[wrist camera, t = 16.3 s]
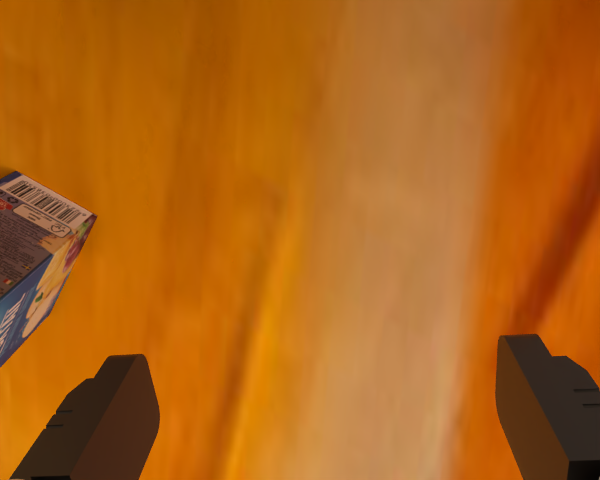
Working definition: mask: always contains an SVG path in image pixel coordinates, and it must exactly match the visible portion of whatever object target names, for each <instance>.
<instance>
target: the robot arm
mask: <svg viewBox="0 0 600 480" xmlns="http://www.w3.org/2000/svg"><path fill="white" fill-rule="evenodd" d="M495 396H496V406H497V412H498V416H499V420H500V423H501V425H502V428H503V430H504V433H505V435H506V438H507V440H508V443H509V445H510V447H511V450H512V452H513V455H514V457H515V460H516V462H517V465H518V467H519V470H520V472H521V475H522V477H523V479H524V480H600V391H599V387H598V386H597V384H596V383H595V382H594V380H593V379H592V377H591V376H590V374H589V373H588V372H587V370H585V369H584V368H582V367H581V366H580V365H578V364H577V363H575V362H574V361H572V360H571V359H570V358H568V357H567V356H551V354H550V353H549V351H548V350H547V348H546V346H545V345H544V343H543V342H542V340H541V338H540V337H539V336H538V335H537V334H522V335H503V336H500V337H499V340H498V351H497V371H496V391H495ZM159 421H160V412H159V405H158V401H157V397H156V393H155V390H154V386H153V382H152V378H151V374H150V370H149V366H148V363H147V360H146V358H145V356H144V355H143V354H132V355H113V356H109V357H108V358H107V359H106V360H105V362H104V363H103V365H102V366H101V368H100V369H99V371H98V373H97V374H96V376H95V377H94V378H90V379H86V380H84V381H83V382H82V383H81V384H79V385H78V386H77V387H76V388H75V389H73V390H72V391H71V392H70V393H68V394H67V396H66V397H65V399H64V400H63V402H62V403H61V405H60V406H59V407H58V409H57V410H56V414H54V415H53V416H52V418H51V419H50V421H49V422H48V423H47V425H46V429H43V431H42V432H41V434H40V435H39V437H38V438H37V439H36V441H35V442H34V444H33V445H32V447H31V448H30V450H29V451H28V453H27V454H26V455H25V457H24V458H23V460H22V461H21V463H20V464H19V466H18V467H17V468H16V470H15V471H14V473H13V474H12V476H11V477H10V479H9V480H138V479H139V477H140V475H141V472H142V470H143V467H144V465H145V462H146V460H147V458H148V455H149V453H150V450H151V448H152V446H153V443H154V441H155V438H156V436H157V433H158V429H159Z"/></svg>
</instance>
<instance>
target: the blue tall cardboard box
mask: <svg viewBox="0 0 600 480" xmlns="http://www.w3.org/2000/svg"><path fill="white" fill-rule="evenodd" d="M96 218H97V215H95V214H93V213H91V212H90V211H88V210H86V209H84V208H82V207H81V206H79V205H77V204H75V203H73V202H72V201H70V200H68V199H66V198H64V197H63V196H61V195H59V194H57V193H55V192H54V191H52V190H50V189H48V188H46V187H45V186H43V185H41V184H39V183H37V182H36V181H34V180H32V179H30V178H28V177H27V176H25V175H23V174H21V173H19V172H18V171H15V172H13V173H11V174H9V175H7V176H5V177H4V178H2V179H0V367H1V366H2V365H3V364H4V363H5V362H6V361H7V360H8V359H9V358H10V357H11V355H12V354H13V353H14V352H15V351H16V350H17V349H18V348H19V347H20V346H21V345H22V344H23V342H24V341H25V340H26V339H27V338H28V337H29V336H30V335H31V334H32V333H33V332H34V331H35V330H36V328H37V327H38V326H39V325H40V324H41V323H42V322H43V321H44V320H45V319H46V318H47V317H48V316H49V314H50V312H51V310H52V308H53V306H54V304H55V302H56V300H57V298H58V296H59V294H60V292H61V290H62V288H63V286H64V284H65V282H66V280H67V278H68V275H69V273H70V271H71V269H72V267H73V265H74V263H75V261H76V259H77V257H78V255H79V253H80V251H81V249H82V247H83V245H84V243H85V241H86V239H87V237H88V235H89V233H90V230H91V228H92V226H93V224H94V222H95V220H96Z"/></svg>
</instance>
